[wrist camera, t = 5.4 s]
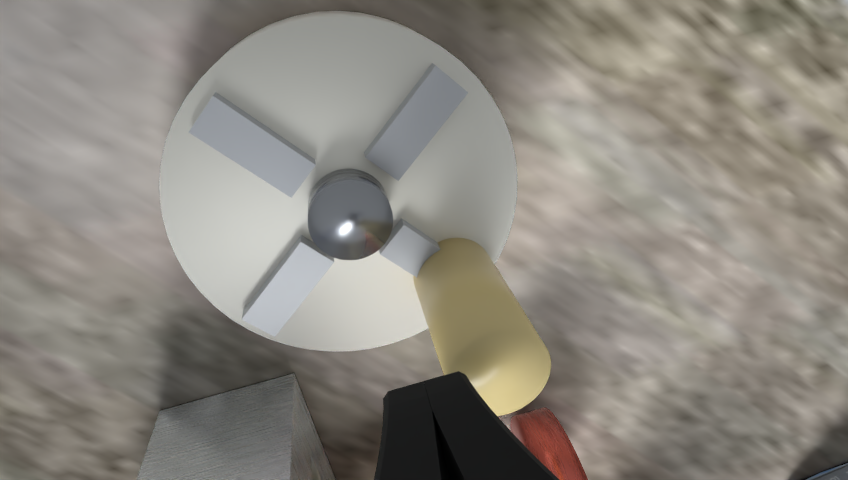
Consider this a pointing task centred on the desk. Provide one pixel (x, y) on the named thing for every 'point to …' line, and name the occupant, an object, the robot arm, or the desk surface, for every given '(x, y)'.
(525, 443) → the hook rod
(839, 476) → the label tape box
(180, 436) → the eye block
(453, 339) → the lock wheel
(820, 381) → the desk surface
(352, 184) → the wheel spindle
